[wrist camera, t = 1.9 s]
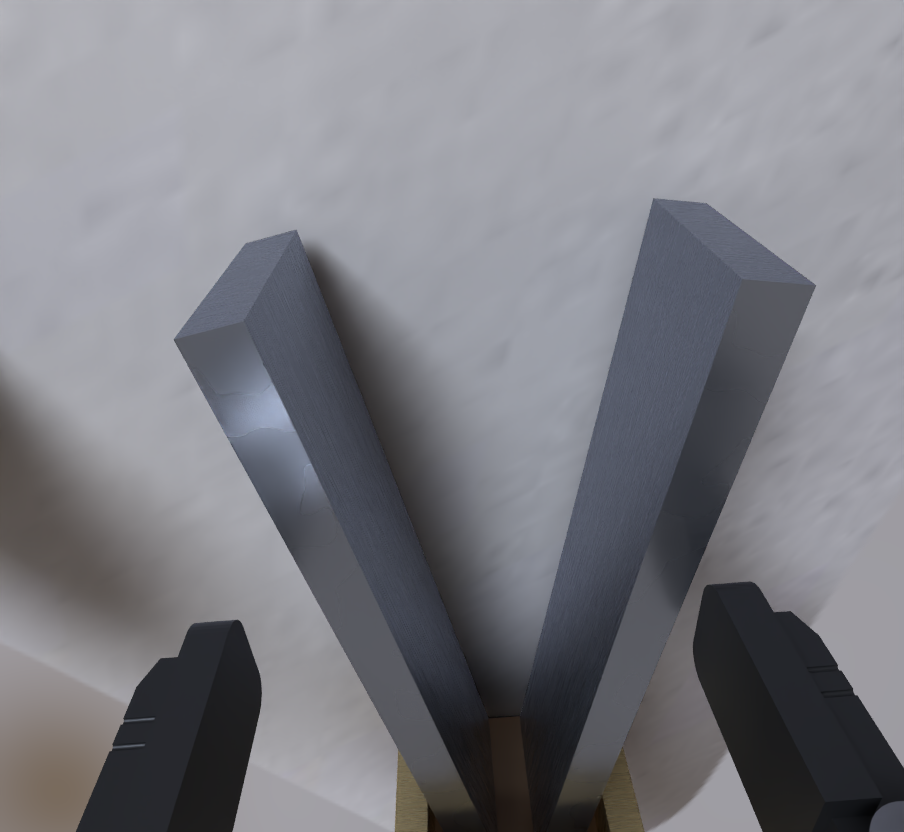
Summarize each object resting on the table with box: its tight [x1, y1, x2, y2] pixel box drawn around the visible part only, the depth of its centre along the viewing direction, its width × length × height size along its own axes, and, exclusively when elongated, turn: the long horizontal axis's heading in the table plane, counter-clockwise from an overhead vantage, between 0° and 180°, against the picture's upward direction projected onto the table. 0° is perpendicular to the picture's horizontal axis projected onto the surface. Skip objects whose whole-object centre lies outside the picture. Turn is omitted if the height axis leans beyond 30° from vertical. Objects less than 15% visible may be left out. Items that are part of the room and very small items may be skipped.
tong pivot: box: [435, 716, 597, 832], centre depth 20 cm, size 3×5×5 cm, turn 95°
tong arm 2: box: [174, 230, 498, 832], centre depth 15 cm, size 16×1×4 cm, turn 15°
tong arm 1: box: [520, 198, 816, 832], centre depth 14 cm, size 16×1×4 cm, turn 175°
